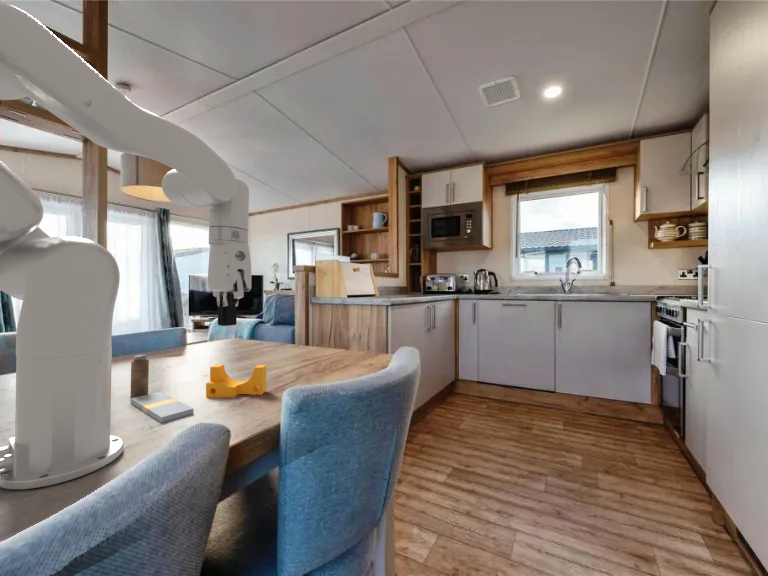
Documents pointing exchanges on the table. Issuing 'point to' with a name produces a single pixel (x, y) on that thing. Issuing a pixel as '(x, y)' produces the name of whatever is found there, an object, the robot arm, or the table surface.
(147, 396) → the board
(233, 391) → the pipe clamp
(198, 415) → the table surface
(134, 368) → the peg
